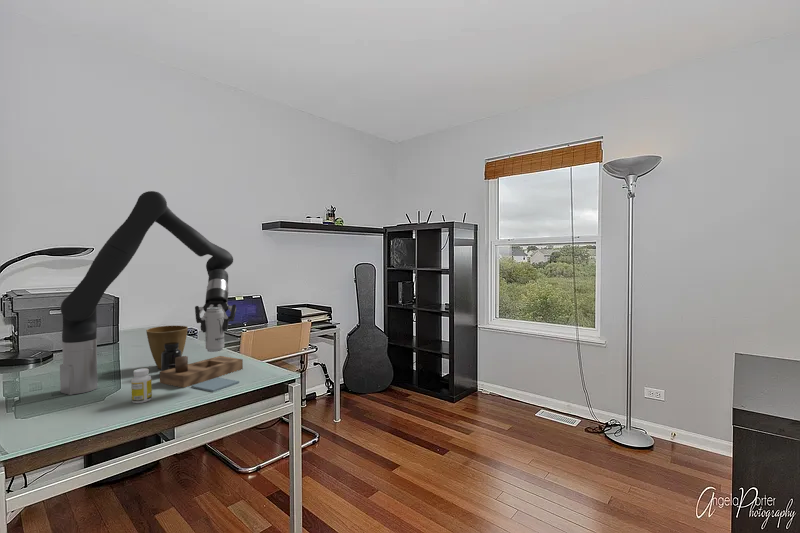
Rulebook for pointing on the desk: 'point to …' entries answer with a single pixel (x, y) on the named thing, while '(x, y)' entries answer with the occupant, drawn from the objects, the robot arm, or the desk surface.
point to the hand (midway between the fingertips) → (214, 330)
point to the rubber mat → (215, 384)
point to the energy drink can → (214, 329)
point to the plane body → (199, 370)
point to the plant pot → (165, 339)
